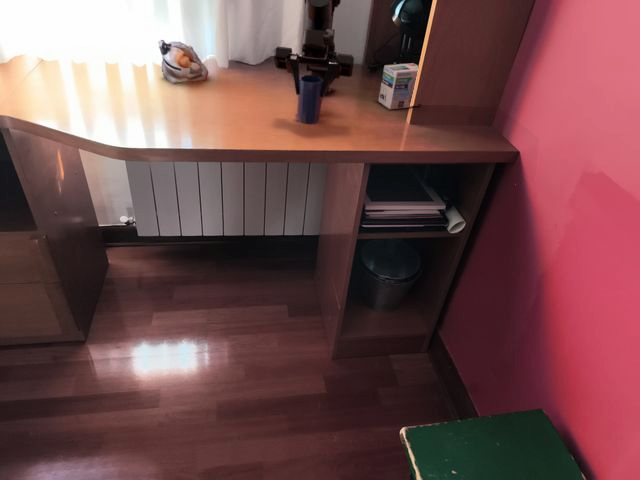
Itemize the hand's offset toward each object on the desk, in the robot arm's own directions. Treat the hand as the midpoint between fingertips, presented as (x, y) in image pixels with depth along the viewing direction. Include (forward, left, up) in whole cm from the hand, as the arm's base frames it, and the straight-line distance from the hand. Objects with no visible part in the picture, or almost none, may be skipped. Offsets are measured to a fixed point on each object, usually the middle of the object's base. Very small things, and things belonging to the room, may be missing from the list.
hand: (309, 95), depth 107 cm
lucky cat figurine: (-15, -47, -10) cm, 51 cm away
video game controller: (-11, -4, -10) cm, 15 cm away
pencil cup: (-1, 0, -7) cm, 7 cm away
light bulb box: (-35, +14, -10) cm, 39 cm away
